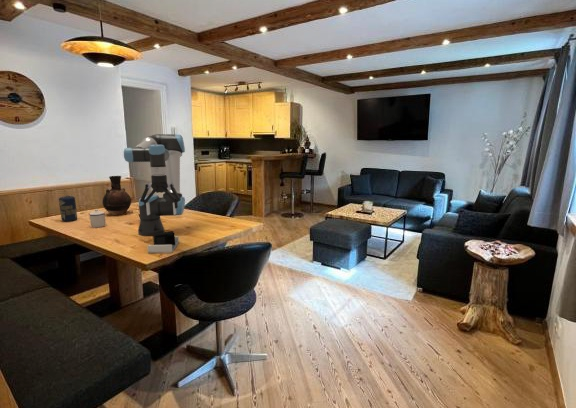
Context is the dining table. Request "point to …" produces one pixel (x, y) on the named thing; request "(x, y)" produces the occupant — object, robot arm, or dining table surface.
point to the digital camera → (164, 238)
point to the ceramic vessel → (116, 198)
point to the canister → (68, 208)
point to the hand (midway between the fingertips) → (161, 214)
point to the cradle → (163, 247)
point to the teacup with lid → (97, 218)
